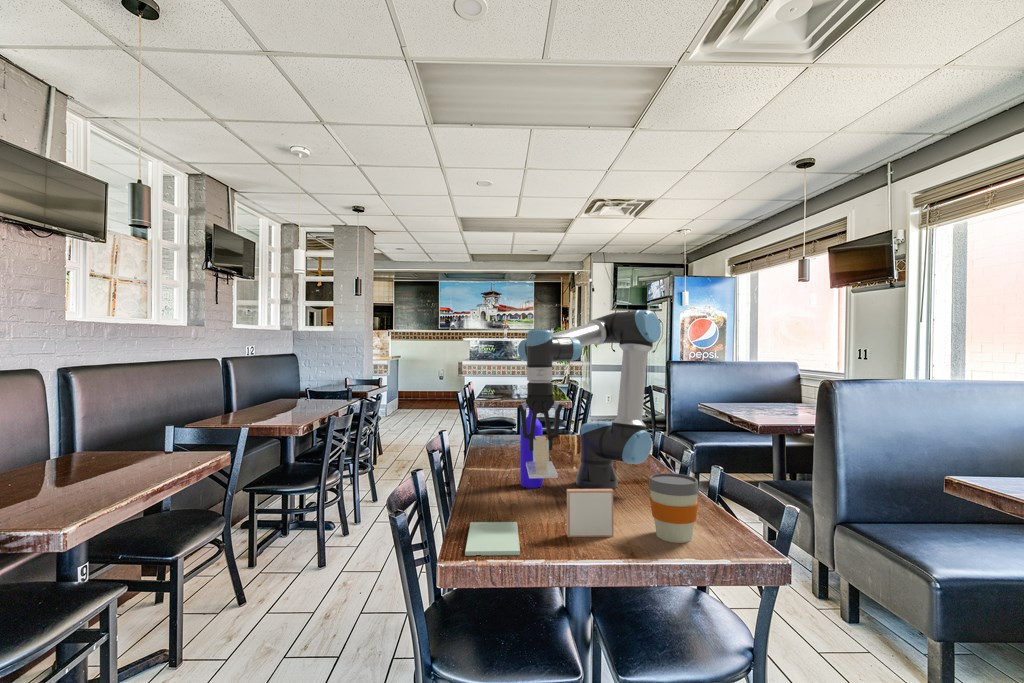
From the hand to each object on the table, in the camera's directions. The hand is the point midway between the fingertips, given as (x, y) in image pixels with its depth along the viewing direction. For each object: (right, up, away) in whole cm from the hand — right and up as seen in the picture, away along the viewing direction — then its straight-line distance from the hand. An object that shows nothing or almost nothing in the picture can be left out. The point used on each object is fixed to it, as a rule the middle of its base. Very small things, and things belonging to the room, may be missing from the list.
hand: (540, 461), depth 139 cm
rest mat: (-13, -16, -17) cm, 27 cm away
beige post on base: (0, -3, 0) cm, 3 cm away
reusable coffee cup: (+34, -16, -15) cm, 41 cm away
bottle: (-1, -18, +35) cm, 39 cm away
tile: (+12, -16, -15) cm, 25 cm away
